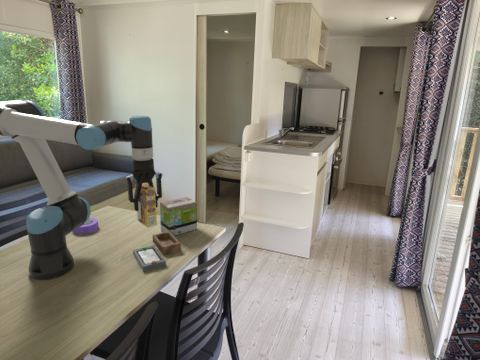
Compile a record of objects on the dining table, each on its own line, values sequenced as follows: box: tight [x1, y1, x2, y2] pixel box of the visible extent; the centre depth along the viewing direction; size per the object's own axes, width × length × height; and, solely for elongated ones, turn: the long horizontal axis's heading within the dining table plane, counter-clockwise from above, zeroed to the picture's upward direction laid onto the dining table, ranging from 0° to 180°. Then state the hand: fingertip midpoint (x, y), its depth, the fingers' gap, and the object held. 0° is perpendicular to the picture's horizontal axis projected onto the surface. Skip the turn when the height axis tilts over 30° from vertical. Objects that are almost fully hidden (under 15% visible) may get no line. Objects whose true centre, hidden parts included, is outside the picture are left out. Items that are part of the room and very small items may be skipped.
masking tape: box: [71, 217, 99, 235], centre depth 161 cm, size 12×12×4 cm
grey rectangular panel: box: [138, 249, 160, 264], centre depth 135 cm, size 6×11×1 cm, turn 31°
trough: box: [152, 231, 182, 256], centre depth 146 cm, size 8×14×4 cm, turn 31°
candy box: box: [134, 183, 158, 228], centre depth 129 cm, size 9×4×15 cm, turn 43°
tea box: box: [159, 196, 198, 237], centre depth 161 cm, size 15×10×15 cm, turn 129°
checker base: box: [132, 244, 167, 272], centre depth 135 cm, size 9×15×3 cm, turn 31°
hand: (146, 216), depth 130 cm, fingers closed on candy box, 5 cm apart
